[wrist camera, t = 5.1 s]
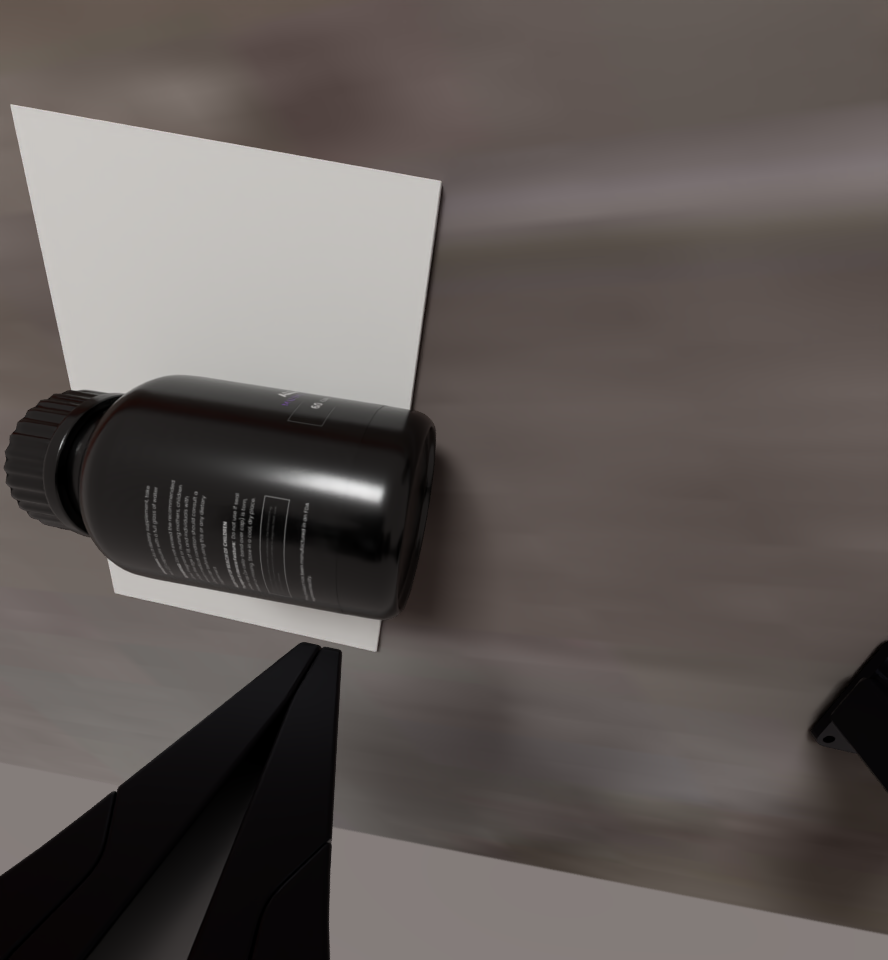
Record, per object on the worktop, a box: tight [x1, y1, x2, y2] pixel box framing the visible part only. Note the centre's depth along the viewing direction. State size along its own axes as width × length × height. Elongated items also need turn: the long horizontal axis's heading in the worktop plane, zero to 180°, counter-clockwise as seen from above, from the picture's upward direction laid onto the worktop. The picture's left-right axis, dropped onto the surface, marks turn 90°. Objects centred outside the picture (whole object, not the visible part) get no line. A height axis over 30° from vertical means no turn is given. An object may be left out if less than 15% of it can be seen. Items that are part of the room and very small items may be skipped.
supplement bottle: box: [4, 375, 436, 620], centre depth 14 cm, size 7×7×12 cm
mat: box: [10, 104, 442, 652], centre depth 17 cm, size 14×20×1 cm
